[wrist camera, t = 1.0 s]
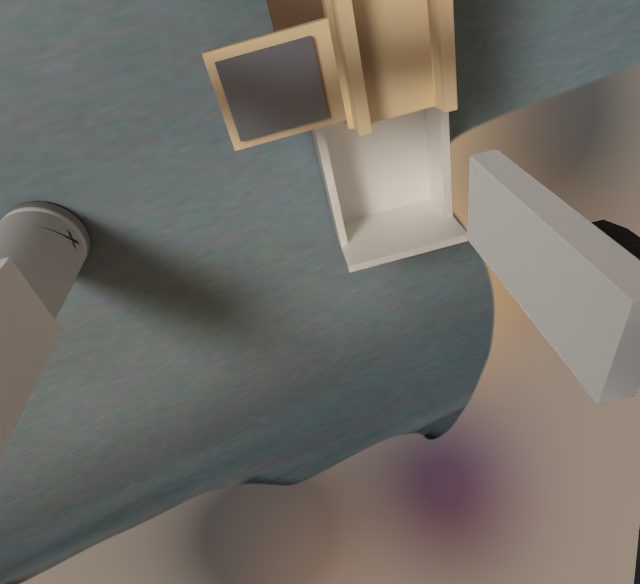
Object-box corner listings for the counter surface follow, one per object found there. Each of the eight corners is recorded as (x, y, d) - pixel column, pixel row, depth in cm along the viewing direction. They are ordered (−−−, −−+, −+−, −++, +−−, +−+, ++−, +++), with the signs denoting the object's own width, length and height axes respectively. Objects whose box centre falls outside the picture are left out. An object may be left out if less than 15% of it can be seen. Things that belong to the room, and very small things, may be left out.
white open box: (306, 110, 33) (320, 142, 28) (427, 77, 33) (465, 102, 27) (334, 227, 39) (349, 272, 34) (435, 200, 39) (468, 241, 34)
